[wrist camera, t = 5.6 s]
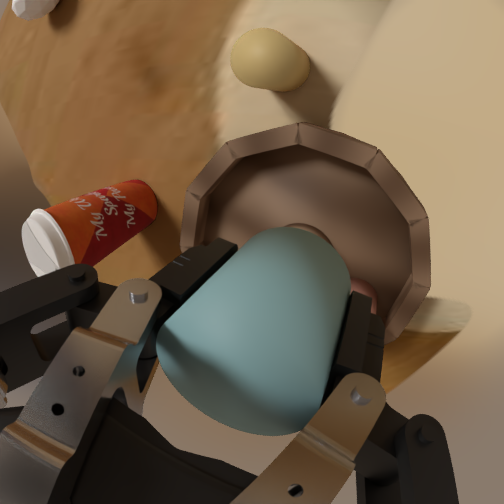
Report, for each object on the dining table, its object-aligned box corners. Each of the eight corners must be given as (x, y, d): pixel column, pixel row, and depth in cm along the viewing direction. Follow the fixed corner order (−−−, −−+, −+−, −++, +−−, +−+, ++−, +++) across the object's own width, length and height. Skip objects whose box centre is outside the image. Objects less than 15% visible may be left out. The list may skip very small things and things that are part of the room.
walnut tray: (218, 98, 24) (200, 98, 22) (466, 187, 19) (476, 197, 17) (188, 292, 36) (174, 306, 33) (362, 368, 31) (358, 388, 28)
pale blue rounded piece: (247, 209, 10) (154, 280, 6) (370, 255, 9) (352, 366, 5) (227, 305, 13) (158, 389, 9) (326, 346, 12) (287, 451, 8)
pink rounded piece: (340, 270, 26) (330, 303, 22) (385, 289, 25) (383, 324, 21) (323, 307, 28) (311, 342, 24) (364, 324, 27) (358, 361, 23)
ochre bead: (263, 38, 20) (238, 24, 16) (315, 48, 19) (300, 33, 15) (252, 85, 23) (224, 81, 19) (302, 97, 22) (284, 94, 18)
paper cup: (173, 190, 30) (64, 247, 19) (156, 245, 35) (66, 311, 23) (122, 158, 31) (16, 198, 20) (111, 212, 35) (21, 262, 24)
